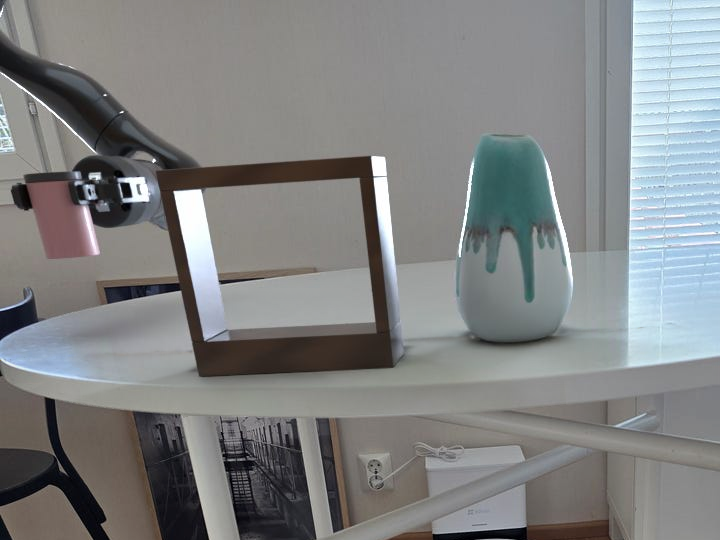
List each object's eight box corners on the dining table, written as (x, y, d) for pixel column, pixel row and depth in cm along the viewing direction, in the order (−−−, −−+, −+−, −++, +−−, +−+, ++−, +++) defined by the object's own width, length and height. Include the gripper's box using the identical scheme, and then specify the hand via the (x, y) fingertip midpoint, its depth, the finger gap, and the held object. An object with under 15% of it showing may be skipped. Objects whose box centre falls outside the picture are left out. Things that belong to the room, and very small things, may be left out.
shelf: (198, 376, 78) (154, 170, 70) (222, 362, 83) (184, 170, 75) (393, 367, 76) (371, 155, 68) (404, 353, 82) (384, 156, 74)
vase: (593, 338, 83) (594, 123, 74) (483, 353, 80) (471, 130, 71) (542, 323, 93) (538, 132, 84) (442, 336, 89) (427, 138, 81)
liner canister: (36, 260, 91) (12, 174, 87) (62, 255, 96) (40, 174, 92) (86, 257, 90) (64, 171, 87) (109, 252, 95) (90, 171, 91)
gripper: (51, 159, 102) (-33, 157, 87) (167, 151, 100) (102, 148, 86) (69, 229, 105) (-9, 238, 90) (181, 222, 104) (121, 231, 89)
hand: (45, 194), depth 88 cm, fingers closed on liner canister, 5 cm apart
